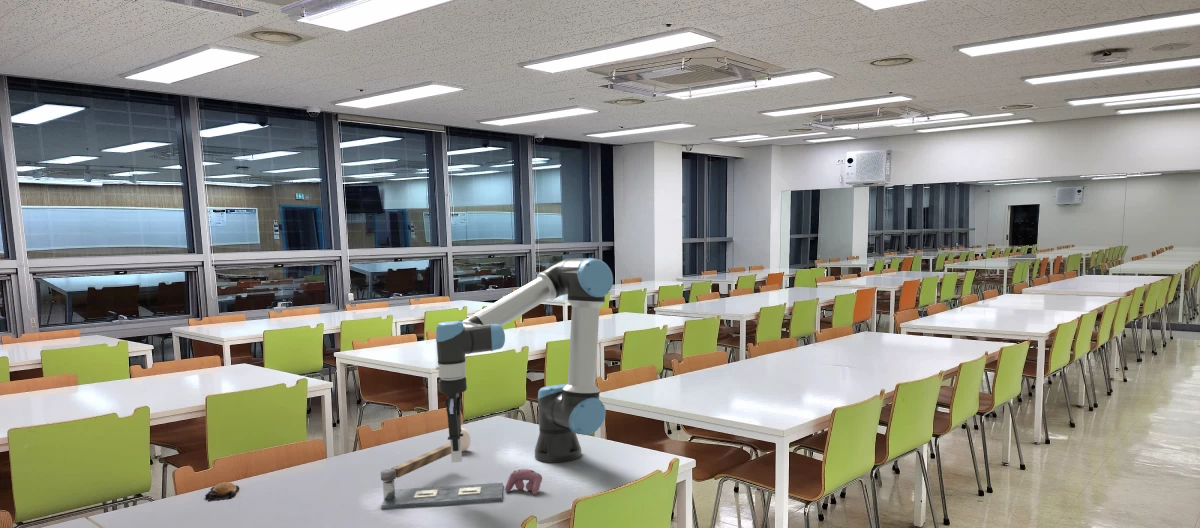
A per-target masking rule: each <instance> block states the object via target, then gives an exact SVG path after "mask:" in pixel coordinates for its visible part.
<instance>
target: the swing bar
mask: <svg viewBox="0 0 1200 528" xmlns="http://www.w3.org/2000/svg"><path fill="white" fill-rule="evenodd" d="M449 455H451V442H448V443H446V444H444V445H441V446H439V447H437V448H435V449H432V450H430V451H427V452H425V453H423V454H420V455H419V456H416V457H414V458H411V459H409V460H407V461H404V462H402V463H400V464H397V465H396V466H393V467H391V468H388V469H383V470H381V471H380V480H381V481H382V482H383V481H391V480H394V481H395V480H396V479H397V478H401V477H403V476H405V475H407V474H410V473H412V472H413V471H416V470H419V469H421V468H423V467H425V466H426V465H429V464H431V463H434V462H436V461H437V460H440V459H443V458H445V457H446V456H449Z"/></svg>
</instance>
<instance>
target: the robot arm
mask: <svg viewBox="0 0 1200 528" xmlns="http://www.w3.org/2000/svg"><path fill="white" fill-rule="evenodd" d="M613 283H614V276H613V272H612V270H611V268H610V267H609V265H608V264H607V263H606V262H604V261H603V260H601V259H598V258H592V257H588V258H587V257H585V258H584V257H581V258H580V257H578V258H577V257H576V258H575V257H568V258H566V259H563V260H561V261H558V262H556V263H555V264H553V265H552V266H550V267H548V268H547V269H544V270H543V271H541V272H539V273H538V274H537V275H536V278H535V279H533V280H531V281H530V282H527V284H525V285H523V286H521V287H519V288H517V289H516V290H515V291H512V292H511V293H509V294H507V295H506V296H505V295H504V297H502V298H500V299H499V300H497V301H495V302H494V303H492V304H490V305H488V306H486V307H485V308H483V309H481V310H479V311H478V312H476V313H474V314H472V315H471V316H469V317H467V318H465V319H462V320H461V319H460V320H452V321H442V322H439V323H438V324H437V325H436V331H435V342H436V353H437V366H436V367H435V370H436V371H438V372H437V373H438V378H439V379H438V392H439V393H440V394H443V395H447V397H446V399H445V406H446V410H445V411H446V415H447V425H448V437H447V440H448V441H449V440H450V442H449V443H451V454H450V455H451V456H450V457H451V463H461V462H462V461H463V455H462V453H463V452H462V451H461V437H460V436H463V434H461V433H460V432H461V428H462V422H461V421H462V419H461V418H462V417H461V416H462V415H461V414H462V396H460V394H461V393H464V392H466V391H467V387H468V386H467V377H466V375H467V366H466V364H467V362H466V355H470V354H475V353H476V354H477V353H484V352H493V351H496V350H501V349H503V347H505V346H504V345H505V344H506V343H505V342H506V334H505V331H504V330H505V329H504V328H503V327H504V326H506V325H507V324H509V323H510V322H512V321H514V320H516V319H517V318H519V317H520V316H523V315H524V314H526V313H527V312H529V311H530V310H533V309H534V308H536V307H538V306H539V305H541V304H543V303H544V302H546V301H547V300H551V301H554V300H556V299H557V298H559V297H561V296H565V295H567V302H568V303H569V304H570V305H571V316H570V317H571V318H570V319H571V320H570V321H571V322H570V333H569V334H570V335H569V336H570V337H569V338H570V339H569V353H568V354H569V356H568V370H567V383H564V384H563V383H561V384H554V385H553V384H552V385H547V386H543V387H541V388H540V389H539V390H538V391H537V393H538V394H537V402H538V403H537V404H538V426H539V427H538V428H539V429H538V430H539V432H538V433H539V434H538V436H537V437H538V438H537V440H536V444H535V447H534V458H535V459H536V460H538V461H541V462H545V463H565V462H569V461H570V462H571V461H574V460H576V459H578V458H580V457H581V456H582V447H581V445H580V442H579V439H578V438H579V437H578V435H583V436H588V435H592V434H594V433H596V432H597V431H598V430H599V429H600V428H601V427H602V425H603V423H604V422H605V419H606V413H607V412H606V407H605V405H604V404H603V402H602V400H600V389H599V387H598V386H597V384H596V375H597V360H598V359H597V358H598V357H597V356H598V341H599V340H598V339H599V338H598V337H599V322H600V321H599V320H600V308H601V306H603V305H604V304H605V302H606V301H605V300H606V295H608V294H609V291H611V289H612V287H613V285H614V284H613Z"/></svg>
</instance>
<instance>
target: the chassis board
mask: <svg viewBox="0 0 1200 528" xmlns="http://www.w3.org/2000/svg"><path fill="white" fill-rule="evenodd" d="M382 487H383V488H382V489H383V490H382V491H383V501H382V504H381V506H380V507H381V510H384V509H385V510H387V509H403V508H416V507H432V506H446V505H464V504H476V503H477V504H478V503H495V502H502V501H503V491H504V482H494V483H493V482H492V483H491V482H490V483H478V484H462V485H461V484H460V485H446V486H445V485H444V486H433V487H431V486H430V487H417V488H416V487H414V488H400V489H399V488H398V489H395V479H394V480H391V481H382Z"/></svg>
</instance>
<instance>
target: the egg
mask: <svg viewBox="0 0 1200 528" xmlns="http://www.w3.org/2000/svg"><path fill="white" fill-rule="evenodd" d="M460 433H461V434H463V436H460V437H461V451H462V453H464V452H466V451H467V450H468V449H469V447H470V446H471V436H470V433H469V431H468V430H467V429H466V428H464V427H461V432H460Z"/></svg>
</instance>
